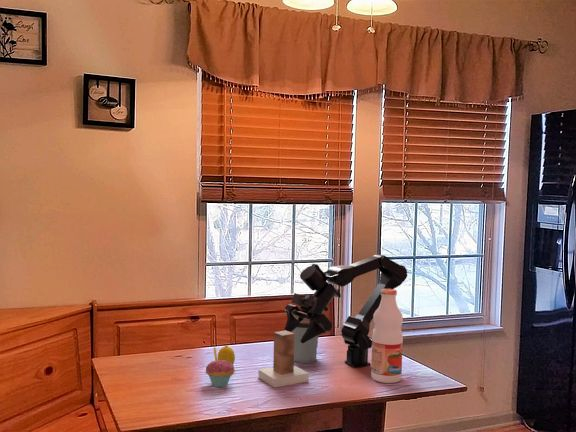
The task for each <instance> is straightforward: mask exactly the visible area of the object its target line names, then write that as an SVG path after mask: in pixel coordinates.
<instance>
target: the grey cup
mask: <svg viewBox="0 0 576 432" xmlns="http://www.w3.org/2000/svg"><path fill="white" fill-rule="evenodd" d="M300 323H301V324H300V325H299V326H297V327H296V328H295V329H294V330H293V331H292V333H294V334H295V335H294V363H295V362H296V363H305V364H306V363H307V364H309V363H313V362H315V361H316V360H317V353H318V351H317V350H318V343H319V336H320V335H318V336H316V337H314V338H312V339H310V340H308V341H306V342H305V343H301V342H300V341H301V339H302V337H303V335H304V334H305V332H306V330H307V329H308V327H309V323H310V321H305V320H303V321H301V322H300Z"/></svg>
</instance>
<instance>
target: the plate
mask: <svg viewBox="0 0 576 432" xmlns="http://www.w3.org/2000/svg"><path fill="white" fill-rule="evenodd" d="M258 378H259V379H260V380H262V381H263V382H265V383H267V384H268V385H270V386H271V387H272V388H279V387H283V386H285V387H286V386H290V385H294V384H295V385H296V384H301V383H306V382H309V378H310V377H309V372H308V371H306V370H304V369H302V368H300V367H298V366H296V365H294V372H292V373H287V374H283V375H281V374H279V373H277V372H275V371H273V367H267V368H261V369H258Z"/></svg>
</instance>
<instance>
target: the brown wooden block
mask: <svg viewBox="0 0 576 432" xmlns="http://www.w3.org/2000/svg"><path fill="white" fill-rule="evenodd" d="M294 335H295V334H294V333H292V332H289V331H286V330H285V331H284V330H280V331H274V332H273V361H272V362H273V371H275V372H277V373H279V374H281V375H283V374H287V373H292V372H294V366H295V361H294Z"/></svg>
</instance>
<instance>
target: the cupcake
mask: <svg viewBox="0 0 576 432" xmlns="http://www.w3.org/2000/svg"><path fill="white" fill-rule="evenodd" d="M213 355H214V360H212V361H210V362H209V363H207V364H208V365H206V366H205V375H208V377H209V379H210V382H211V386H213V387H217V388H223V387H226V386H228V384H229V381H230V379H231V377H232V375H234V374H235V371H236V369H235V366H234V364H232V363H230V362H229V361H227V360H226V361H225V360H218V353H217V349H216V346H215V345H213Z"/></svg>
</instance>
